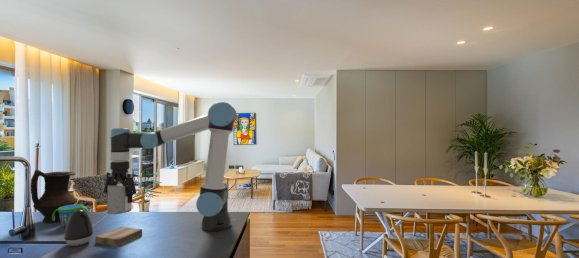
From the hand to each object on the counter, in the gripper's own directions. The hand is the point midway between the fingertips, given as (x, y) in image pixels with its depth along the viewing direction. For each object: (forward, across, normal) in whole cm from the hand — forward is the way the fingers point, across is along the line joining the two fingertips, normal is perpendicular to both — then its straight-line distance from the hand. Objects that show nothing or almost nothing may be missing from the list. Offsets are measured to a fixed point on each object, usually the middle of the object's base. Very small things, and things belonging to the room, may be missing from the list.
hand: (119, 208), depth 124 cm
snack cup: (+15, +42, -7) cm, 45 cm away
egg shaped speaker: (+14, +13, +9) cm, 21 cm away
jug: (+15, +60, -10) cm, 62 cm away
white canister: (+1, 0, 0) cm, 1 cm away
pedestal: (+14, 0, 0) cm, 14 cm away
